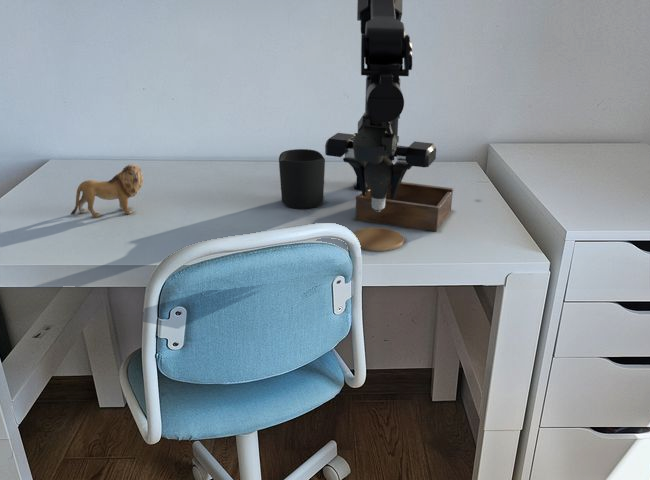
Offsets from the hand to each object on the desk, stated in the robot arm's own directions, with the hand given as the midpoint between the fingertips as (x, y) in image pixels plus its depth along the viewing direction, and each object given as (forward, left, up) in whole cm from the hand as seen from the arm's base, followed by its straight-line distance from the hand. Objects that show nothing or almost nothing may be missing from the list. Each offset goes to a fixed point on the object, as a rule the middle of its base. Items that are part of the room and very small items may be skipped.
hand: (378, 197), depth 126 cm
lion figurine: (-54, -6, -9) cm, 55 cm away
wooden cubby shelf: (+1, +15, -8) cm, 17 cm away
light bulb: (0, 0, -3) cm, 3 cm away
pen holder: (-21, +14, -9) cm, 27 cm away
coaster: (0, 0, -8) cm, 8 cm away
